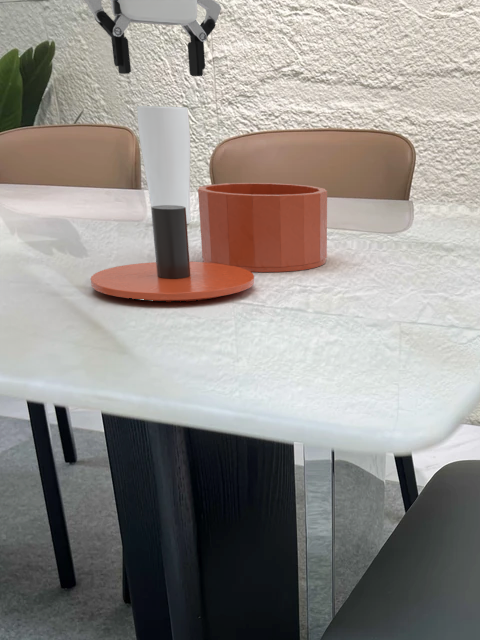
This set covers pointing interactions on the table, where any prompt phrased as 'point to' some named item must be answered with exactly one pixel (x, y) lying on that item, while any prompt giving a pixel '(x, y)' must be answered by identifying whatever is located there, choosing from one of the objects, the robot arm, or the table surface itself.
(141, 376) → the table surface
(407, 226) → the table surface
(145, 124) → the drinking glass
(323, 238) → the pot
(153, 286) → the lid
